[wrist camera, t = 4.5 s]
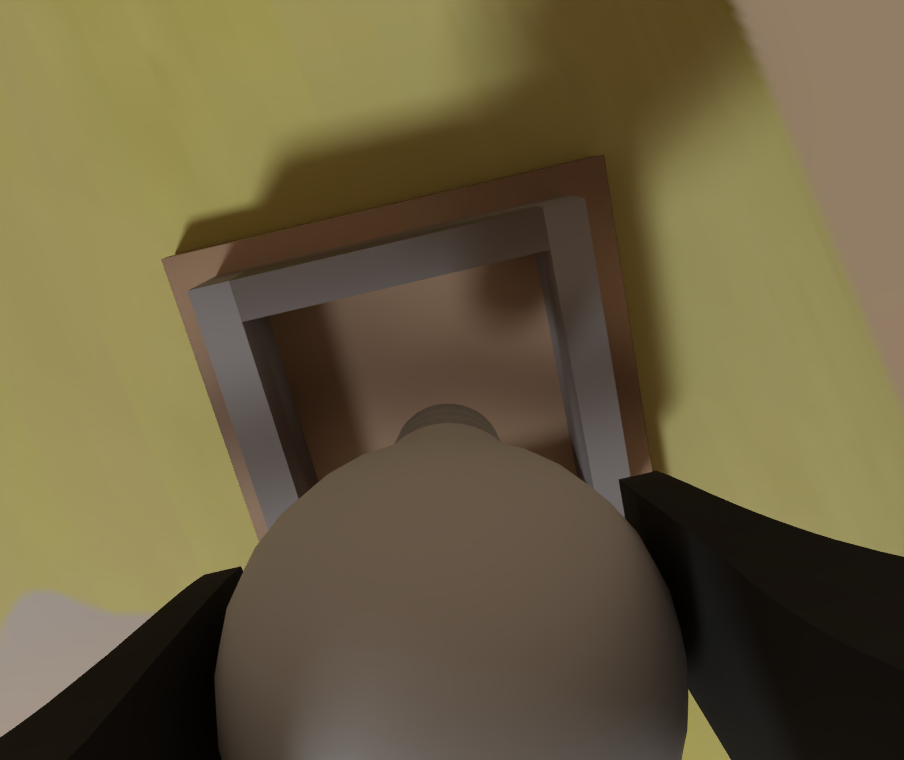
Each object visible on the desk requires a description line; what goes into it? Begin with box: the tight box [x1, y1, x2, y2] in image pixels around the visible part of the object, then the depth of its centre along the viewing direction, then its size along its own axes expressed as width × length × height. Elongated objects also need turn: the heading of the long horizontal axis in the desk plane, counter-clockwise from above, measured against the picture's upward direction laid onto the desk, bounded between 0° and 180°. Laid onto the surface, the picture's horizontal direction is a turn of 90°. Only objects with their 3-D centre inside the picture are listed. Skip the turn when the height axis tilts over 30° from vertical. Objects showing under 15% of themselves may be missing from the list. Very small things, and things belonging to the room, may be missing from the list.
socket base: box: [161, 155, 652, 542], centre depth 19 cm, size 11×12×4 cm
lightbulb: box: [214, 403, 688, 760], centre depth 12 cm, size 6×6×11 cm
